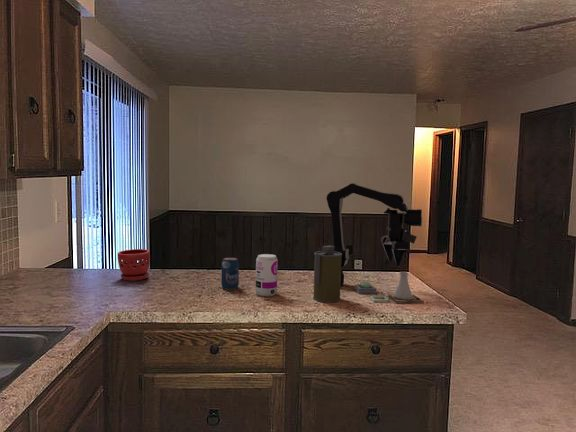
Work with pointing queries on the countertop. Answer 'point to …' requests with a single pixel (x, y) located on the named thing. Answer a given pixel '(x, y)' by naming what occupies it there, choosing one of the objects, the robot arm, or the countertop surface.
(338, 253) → the canister
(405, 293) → the flask
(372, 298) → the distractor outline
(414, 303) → the outline
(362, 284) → the button
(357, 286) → the button housing
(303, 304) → the countertop surface
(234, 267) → the soda can
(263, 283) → the supplement can
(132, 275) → the plant pot
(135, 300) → the countertop surface
